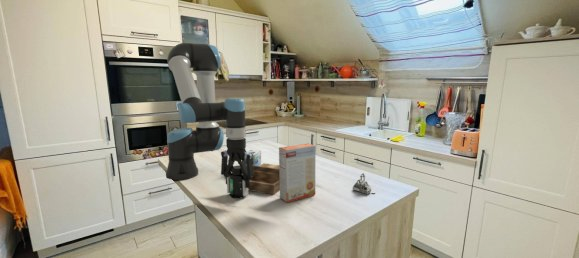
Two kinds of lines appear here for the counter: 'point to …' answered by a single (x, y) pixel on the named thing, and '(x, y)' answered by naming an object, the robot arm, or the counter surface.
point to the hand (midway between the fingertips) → (237, 193)
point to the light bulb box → (255, 157)
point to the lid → (267, 169)
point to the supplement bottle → (236, 182)
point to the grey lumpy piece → (362, 185)
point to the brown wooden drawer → (265, 183)
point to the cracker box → (297, 172)
